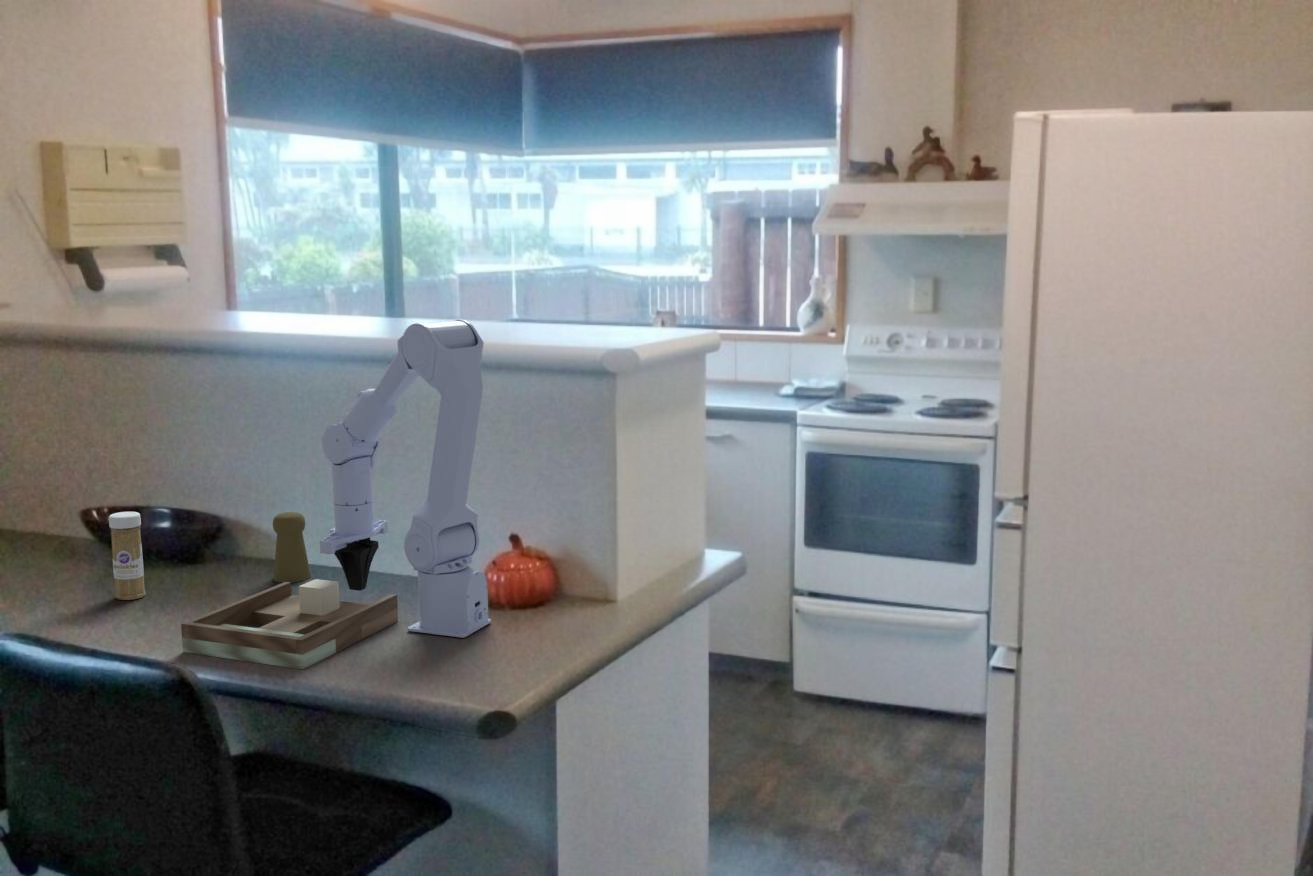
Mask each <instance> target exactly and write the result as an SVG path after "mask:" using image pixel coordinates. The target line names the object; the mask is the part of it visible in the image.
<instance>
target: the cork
mask: <svg viewBox="0 0 1313 876" xmlns="http://www.w3.org/2000/svg"><path fill="white" fill-rule="evenodd" d="M272 521H273V522H272V528H273V531H274V532H275V533H276V538H275V539H276V541H275V552H274V553H275V554H274V555H275V556H274V566H273V567H274V569H273V581H274V582H276V583H280V584H281V583H284V582H291V584H292V583H298V582H304V581H308V580H309V579H311V577H312V575H311V570H310V565H309V560H308V559H309V558H308V555H307V549H306V544H305V543H306V542H305V540H304V533H303V531H304V530H305V528H306V519H305V517H304V515H303V514H302V513H300V512H295V511H289V512H288V511H287V512H282V513H281V512H280V513H278V514H276V515H275V516H274V517H273V520H272Z"/></svg>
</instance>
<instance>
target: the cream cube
mask: <svg viewBox="0 0 1313 876" xmlns="http://www.w3.org/2000/svg"><path fill="white" fill-rule="evenodd" d="M339 587H340V585H339V581H336V580H328V579H318V578H316V579H313V580H310V581H308V582H306V583H303V584H301V585H299V586H298V596H299V602H300V613H305V614H313V615H321V616H324V615H326V614H328V613H330V612H332V611H334V610H337V609H339V608H340V602H339V601H340V588H339Z"/></svg>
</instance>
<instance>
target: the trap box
mask: <svg viewBox="0 0 1313 876" xmlns="http://www.w3.org/2000/svg"><path fill="white" fill-rule="evenodd" d="M292 593H293V592H292V583H291V582H284V583H281V582H280V583H279V584H277V585H275V586H271V587H269V588H267V589H265V590H262V591H260V592H257V593H255V594H252V595H249V596H247V597H245V598H242V599H239V600H237V601H234V602H232V603H229V604H227V605H223V606H221V607H219V608H217V609H214V610H211V611H209V612H207V613H204V614H202V615H199V616H197V617H194V618H192V619H189V620H186V621H183V622H181V623H180V629H181V630H180V631H181V639H182V640H181V641H182V642H181V643H182V644H181V645H182V652H183V653H188V654H193V655H194V654H195V655H202V656H207V657H209V656H210V657H216V658H223V659H229V660H235V661H236V660H237V661H242V662H249V663H250V662H251V663H257V664H261V665H262V664H263V665H270V666H276V667H285V668H290V669H299V670H305V669H307V668H309V667H311V666H313V665H315V664H317V663H319V662H321V661H323V660H324V659H326V658H330V657H331V656H333V655H334V654H337V653H339V652H340V651H342V650H344V649H346V648H348V647H350V646H352V645H354V644H355V643H358V642H360V641H362V640H364V639H366V638H367V637H369V636H372V635H374V634H376V633H378V632H379V631H381V630H384V629H385V628H387V627H389V626H391V625H393V624H395V623H398V622H399V610H398V609H399V608H398V607H399V606H398V605H399V604H398V594H395V593H391V594H389V595H386V596H384V597H382V598H380V599H378V600H376V601H373V602H371V603H369V604H368V603H360V602H351V601H345V600H344V601H343V600H339V602H340V608H339V609H337V610H334V611H332V612H330V613H328V614H326V615H324V616H321V615H313V614H305V613H300V602H299V595H293V594H292Z"/></svg>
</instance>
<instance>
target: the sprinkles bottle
mask: <svg viewBox="0 0 1313 876" xmlns="http://www.w3.org/2000/svg"><path fill="white" fill-rule="evenodd" d="M141 520H142V519H141V514H140V513H139V512H137V511H120V512H114V513H112V514H110V515H109V517H108V525H109V526H108V527H109V528H110V535H111V549H112V551H111V553H112V572H113V579H114V589H115V594H114V598H115V599H117V600H119V601H120V600H121V601H133V600H137V599H138V600H139V599H140V598H141V599H142V598H143V597H144V596H146V593H147V592H146V590H145V577H144V575H145V570H144V568H145V567H144V559H143V546H142V545H143V544H142V537H141V525H142V521H141Z"/></svg>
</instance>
